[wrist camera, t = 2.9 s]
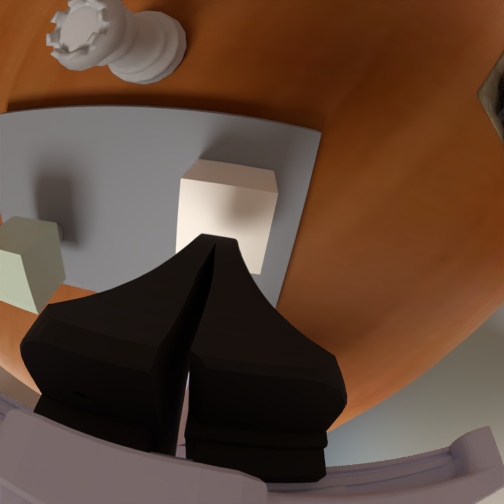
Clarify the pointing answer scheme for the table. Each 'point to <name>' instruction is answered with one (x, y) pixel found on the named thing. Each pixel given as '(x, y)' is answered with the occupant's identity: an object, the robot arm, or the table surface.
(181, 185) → the cream matte cube
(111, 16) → the rook chess piece
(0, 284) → the pale green cube
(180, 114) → the panel
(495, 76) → the abalone
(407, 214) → the table surface
